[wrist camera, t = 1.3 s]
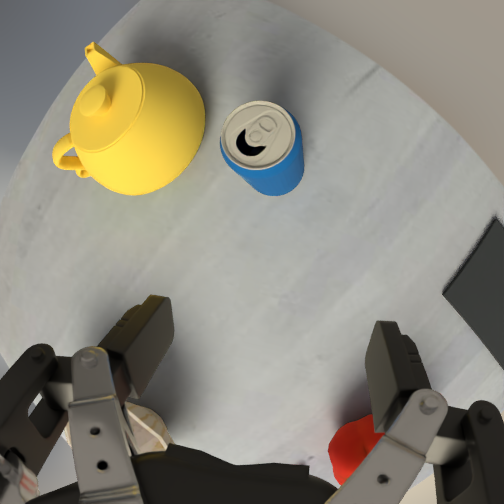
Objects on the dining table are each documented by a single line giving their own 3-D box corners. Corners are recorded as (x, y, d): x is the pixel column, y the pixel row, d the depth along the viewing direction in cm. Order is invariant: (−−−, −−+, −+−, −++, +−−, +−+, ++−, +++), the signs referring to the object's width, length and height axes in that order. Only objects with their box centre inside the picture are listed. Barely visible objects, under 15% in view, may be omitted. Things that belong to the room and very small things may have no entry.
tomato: (435, 414, 31) (457, 449, 22) (379, 475, 32) (387, 514, 24) (364, 380, 32) (377, 417, 24) (308, 448, 34) (305, 491, 26)
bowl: (219, 477, 37) (199, 521, 27) (116, 460, 40) (87, 490, 30) (191, 370, 36) (155, 407, 26) (81, 364, 40) (39, 387, 30)
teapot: (233, 155, 34) (193, 114, 22) (109, 228, 38) (39, 226, 25) (176, 44, 35) (134, -7, 22) (76, 115, 38) (19, 90, 26)
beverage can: (234, 171, 34) (198, 139, 22) (273, 130, 33) (255, 81, 21) (276, 209, 33) (259, 193, 22) (316, 166, 32) (319, 130, 21)
